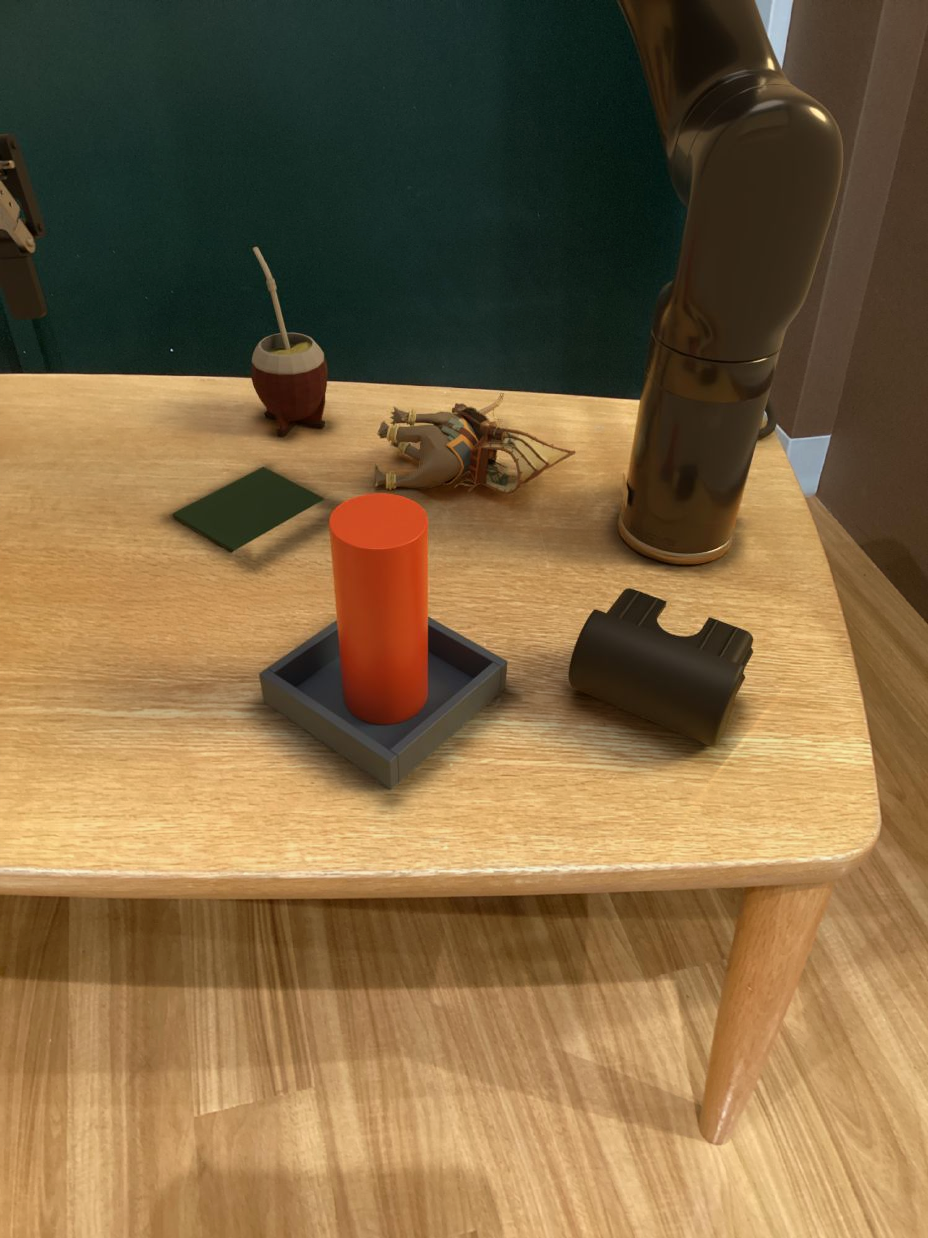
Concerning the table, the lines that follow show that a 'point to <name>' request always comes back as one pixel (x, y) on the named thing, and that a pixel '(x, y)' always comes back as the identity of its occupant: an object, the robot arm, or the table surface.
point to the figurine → (464, 450)
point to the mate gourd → (289, 373)
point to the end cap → (661, 666)
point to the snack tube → (381, 605)
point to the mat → (247, 508)
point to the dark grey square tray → (385, 752)
